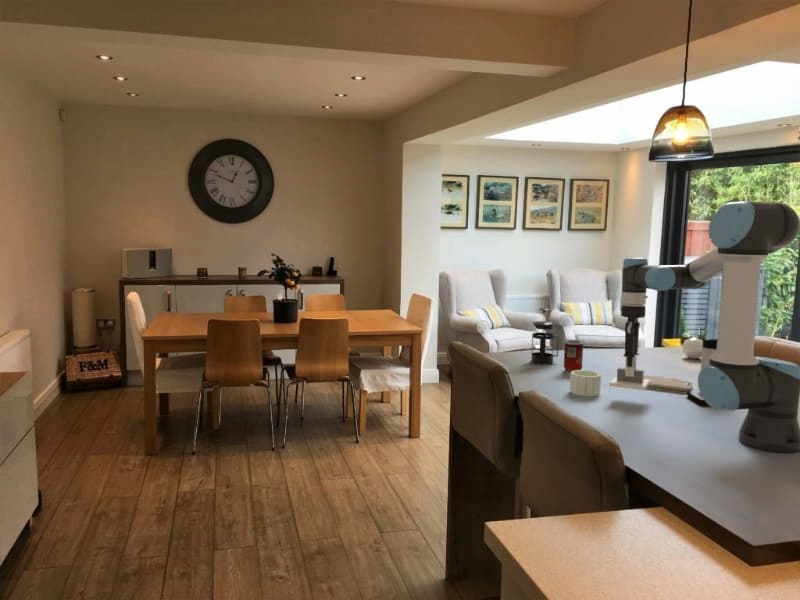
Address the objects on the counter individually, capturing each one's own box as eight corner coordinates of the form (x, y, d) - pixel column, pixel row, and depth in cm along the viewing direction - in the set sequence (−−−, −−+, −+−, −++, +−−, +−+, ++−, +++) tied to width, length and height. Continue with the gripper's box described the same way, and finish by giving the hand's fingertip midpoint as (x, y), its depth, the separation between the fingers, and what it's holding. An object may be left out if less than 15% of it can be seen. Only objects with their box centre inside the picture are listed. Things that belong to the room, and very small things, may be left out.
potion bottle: (679, 359, 286) (716, 367, 280) (681, 350, 278) (719, 358, 272) (682, 341, 290) (719, 348, 284) (684, 331, 282) (722, 338, 276)
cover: (644, 390, 206) (645, 374, 205) (609, 386, 211) (610, 370, 211) (650, 383, 215) (650, 368, 215) (616, 379, 221) (616, 364, 220)
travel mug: (708, 397, 219) (712, 340, 217) (695, 392, 225) (698, 336, 223) (723, 396, 221) (728, 339, 218) (709, 391, 227) (713, 336, 225)
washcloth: (690, 395, 223) (690, 387, 223) (635, 389, 232) (636, 380, 231) (692, 388, 234) (693, 379, 234) (640, 381, 242) (641, 373, 242)
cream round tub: (596, 398, 218) (597, 378, 217) (566, 394, 222) (567, 374, 222) (602, 391, 226) (603, 372, 225) (574, 387, 231) (575, 368, 230)
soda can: (581, 373, 252) (583, 343, 250) (563, 372, 254) (564, 342, 252) (582, 370, 258) (583, 340, 257) (564, 368, 260) (565, 339, 259)
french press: (528, 363, 269) (530, 309, 266) (530, 359, 278) (531, 306, 275) (557, 365, 266) (559, 310, 263) (558, 360, 275) (560, 307, 272)
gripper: (641, 307, 202) (638, 381, 204) (649, 303, 215) (646, 372, 218) (616, 306, 206) (614, 378, 208) (625, 302, 219) (623, 369, 221)
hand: (630, 375), depth 213 cm, fingers closed on cover, 2 cm apart
